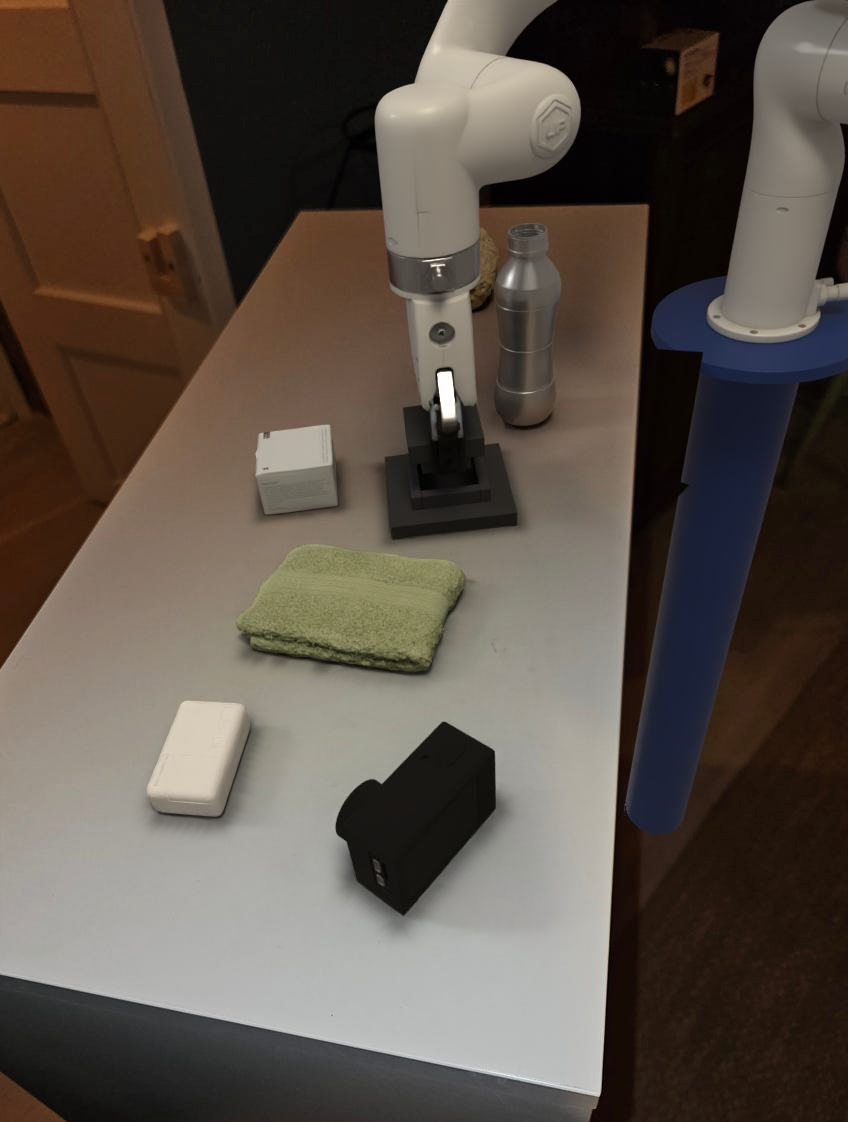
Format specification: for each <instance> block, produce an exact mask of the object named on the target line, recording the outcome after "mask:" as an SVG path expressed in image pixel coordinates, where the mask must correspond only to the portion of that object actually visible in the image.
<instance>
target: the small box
mask: <svg viewBox="0 0 848 1122" xmlns="http://www.w3.org/2000/svg"><path fill="white" fill-rule="evenodd" d="M332 435H333V434H332V428H331V425H330V424H320V425H319V424H318V425H311V426H305V427H297V428H288V429H281V430H272V431H266V432H265V431H264V432H259V433H258V435H257V447H256V450H255V452H254V453H255V454H254V455H255V459H256V463H255V476H254V477H255V480H256V485H257V489H258V492H259V497H260V500H261V505H262V508H263V513H264V514H265V515H277V514H286V513H294V512H301V511H309V510H315V509H316V510H317V509H325V508H332V507H333V508H334V507H337V506H338V505H339V497H338V481H337V480H338V477H337V459H336V453H335V447H334V441H333V440H334V439H333V436H332Z"/></svg>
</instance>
